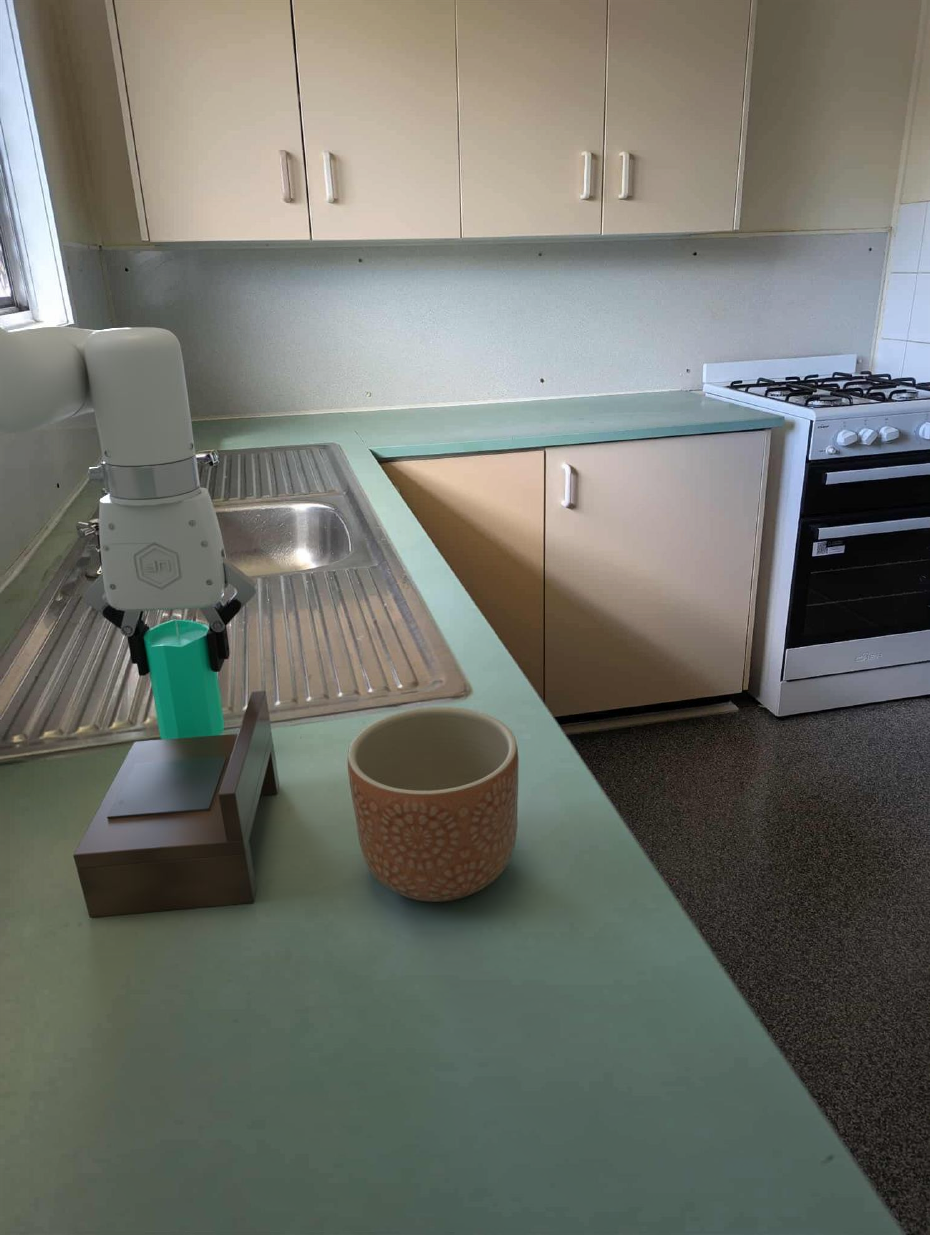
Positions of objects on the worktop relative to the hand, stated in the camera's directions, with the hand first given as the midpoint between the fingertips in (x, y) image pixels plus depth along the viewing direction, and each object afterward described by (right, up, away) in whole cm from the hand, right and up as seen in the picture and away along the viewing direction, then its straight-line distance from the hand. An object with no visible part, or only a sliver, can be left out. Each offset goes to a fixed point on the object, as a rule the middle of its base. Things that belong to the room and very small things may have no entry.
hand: (182, 666), depth 82 cm
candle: (0, -7, +3) cm, 7 cm away
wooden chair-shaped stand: (+4, -14, -10) cm, 18 cm away
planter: (+25, -15, -15) cm, 32 cm away
